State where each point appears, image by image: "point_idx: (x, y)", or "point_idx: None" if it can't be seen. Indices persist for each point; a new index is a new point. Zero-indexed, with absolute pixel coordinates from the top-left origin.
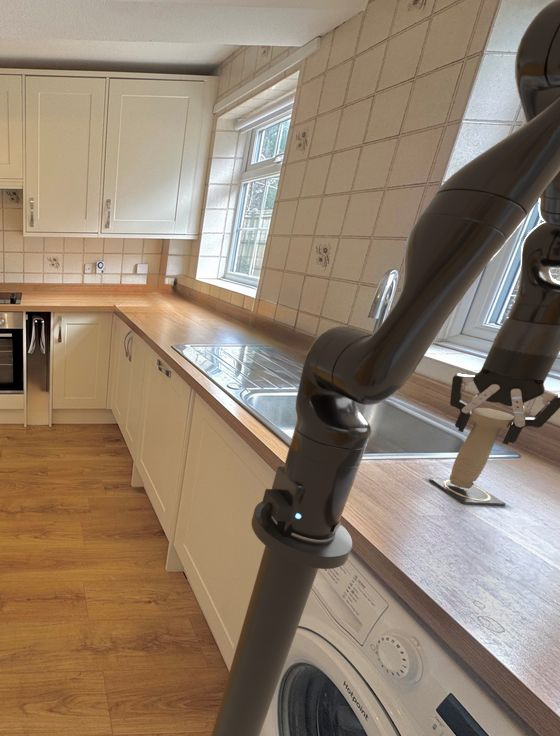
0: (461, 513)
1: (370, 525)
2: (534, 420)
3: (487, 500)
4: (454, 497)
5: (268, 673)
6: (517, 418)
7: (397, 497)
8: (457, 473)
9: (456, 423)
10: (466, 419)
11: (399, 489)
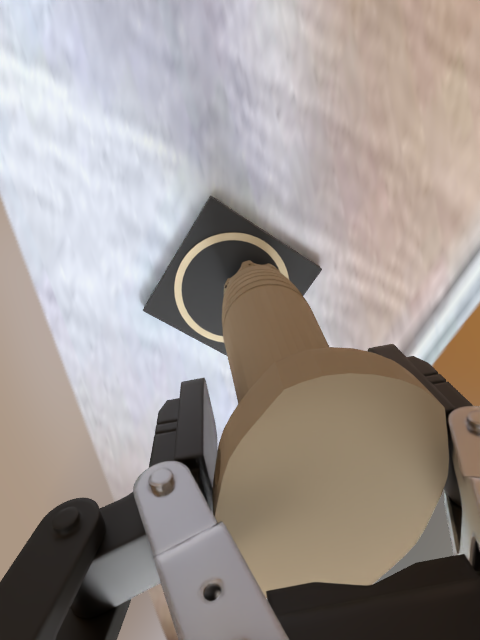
0: (193, 114)
1: None
2: (83, 543)
3: (176, 275)
4: (240, 215)
5: None
6: (185, 508)
7: (356, 4)
8: (273, 269)
9: (428, 366)
10: None
11: (366, 89)
